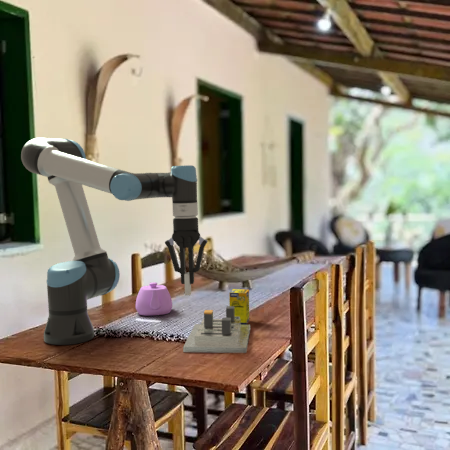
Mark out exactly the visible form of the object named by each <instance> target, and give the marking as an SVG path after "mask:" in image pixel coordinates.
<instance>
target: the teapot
mask: <svg viewBox="0 0 450 450" xmlns="http://www.w3.org/2000/svg"><path fill="white" fill-rule="evenodd" d="M135 300H136V301H135V310H136V312H137V313H138V314H139V315H140V316H161V315H167V314H170V312H171V311H172V309H173V301H172V297H171V293H170V292H169V290H168V288H167V286H165V285H164V284H163V285H162V284H158V282H149V285H144V286H141V287H140V289H139V291H138V294H137V296H136V299H135Z"/></svg>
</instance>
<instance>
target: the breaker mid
mask: <svg viewBox="0 0 450 450" xmlns="http://www.w3.org/2000/svg"><path fill="white" fill-rule="evenodd" d="M203 319H204V327H212V326H213V319H214V309H205V310H204V312H203Z"/></svg>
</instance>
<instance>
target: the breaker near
mask: <svg viewBox="0 0 450 450" xmlns="http://www.w3.org/2000/svg"><path fill="white" fill-rule="evenodd" d="M221 319H222V334H230V333H231V318H226V317H222V318H221Z"/></svg>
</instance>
